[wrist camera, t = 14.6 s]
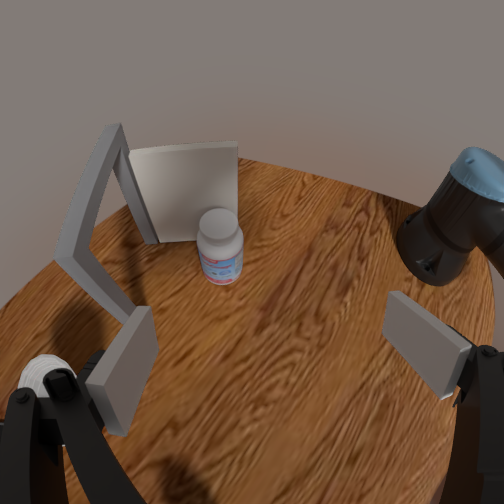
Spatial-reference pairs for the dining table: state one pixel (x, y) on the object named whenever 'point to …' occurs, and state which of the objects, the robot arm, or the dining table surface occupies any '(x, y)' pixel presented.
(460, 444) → the robot arm
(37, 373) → the plastic cup
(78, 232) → the door frame
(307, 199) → the dining table surface
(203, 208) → the door
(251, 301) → the dining table surface
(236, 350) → the dining table surface
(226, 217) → the pill bottle
